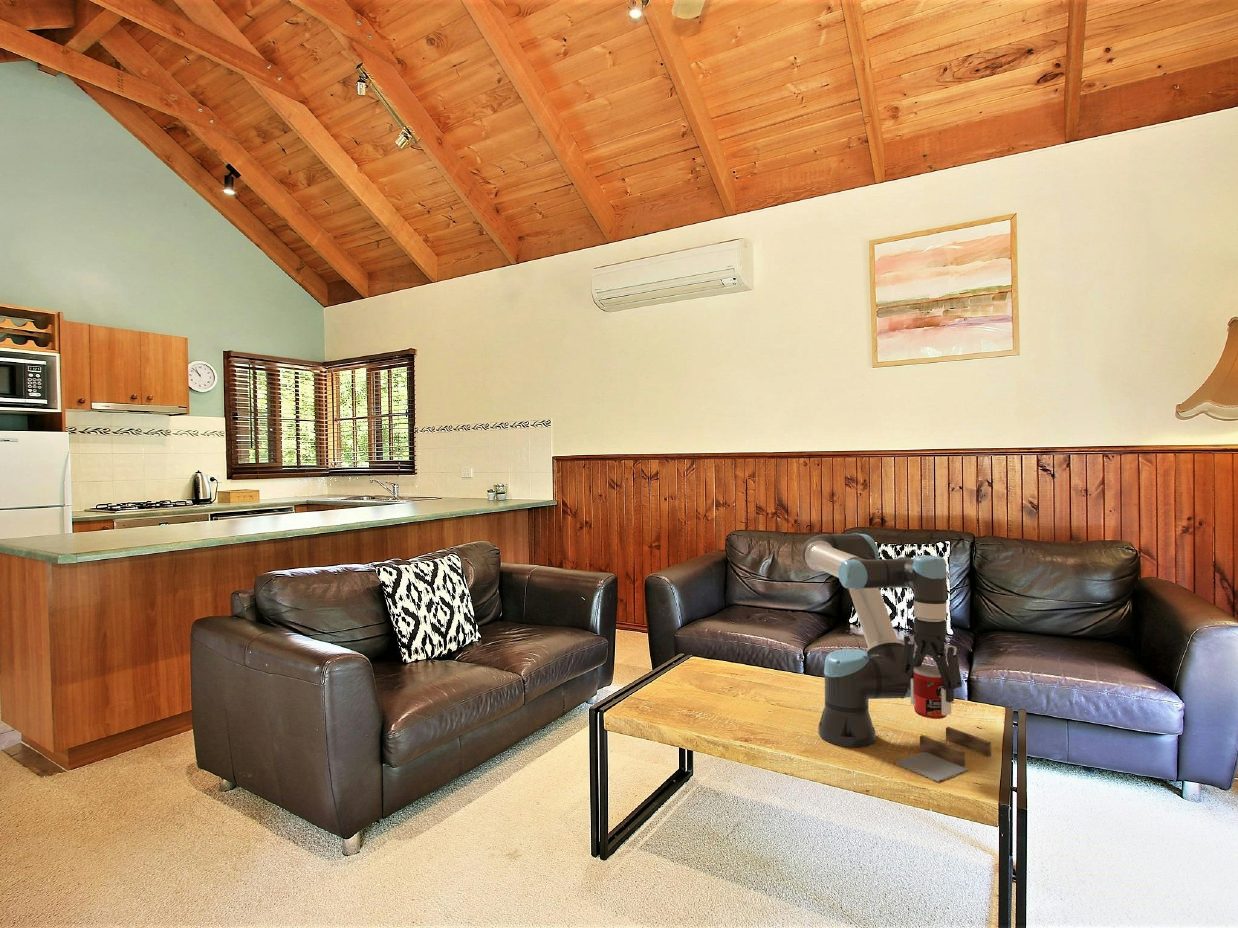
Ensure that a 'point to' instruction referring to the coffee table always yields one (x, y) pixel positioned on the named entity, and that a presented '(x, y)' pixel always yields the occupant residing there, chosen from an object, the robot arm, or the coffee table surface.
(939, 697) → the canned food
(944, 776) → the mat
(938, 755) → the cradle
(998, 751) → the coffee table surface
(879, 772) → the coffee table surface
